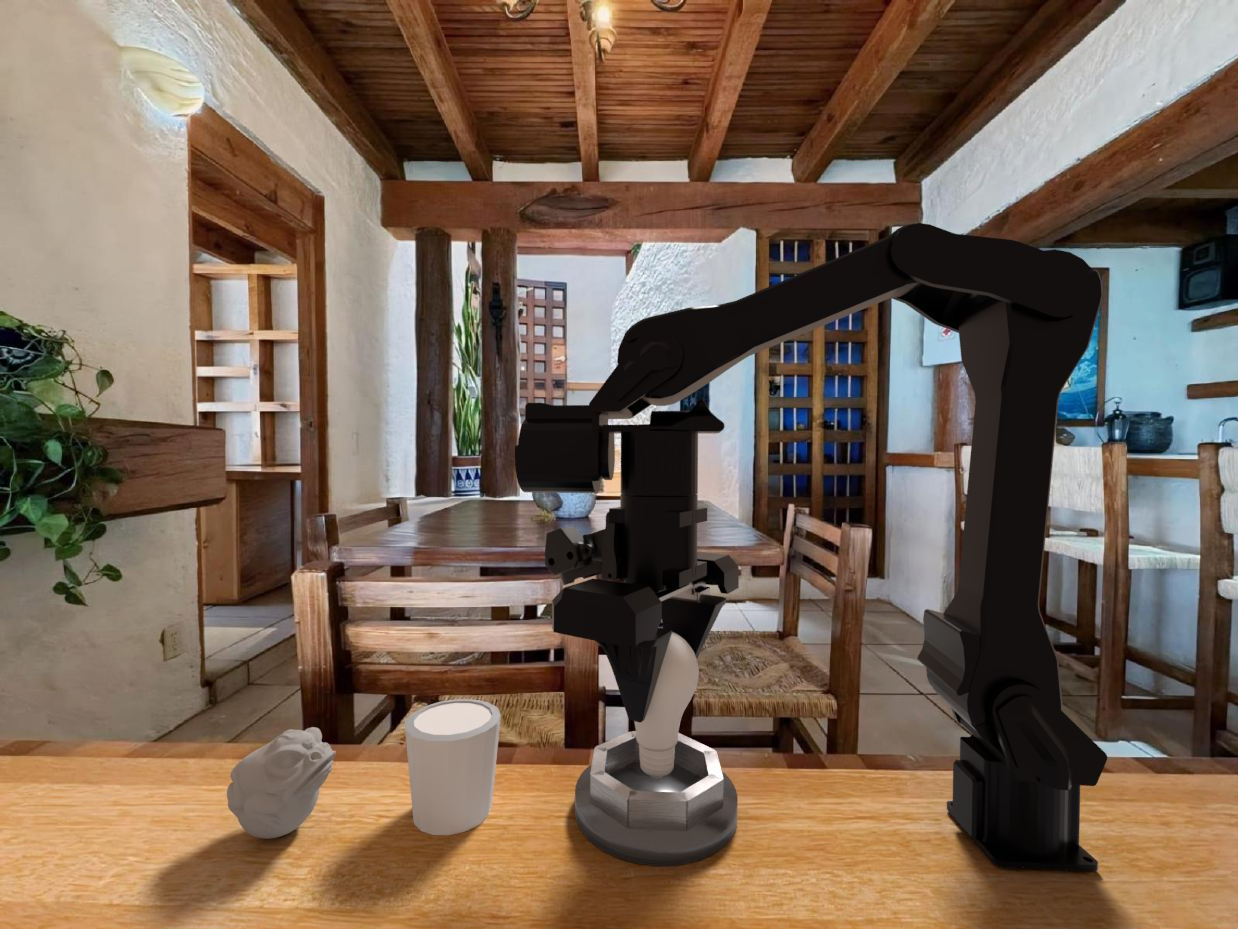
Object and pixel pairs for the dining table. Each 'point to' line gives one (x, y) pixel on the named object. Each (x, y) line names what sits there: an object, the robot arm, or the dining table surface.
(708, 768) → the socket base
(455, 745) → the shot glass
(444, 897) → the dining table surface
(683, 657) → the lightbulb
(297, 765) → the frog figurine
